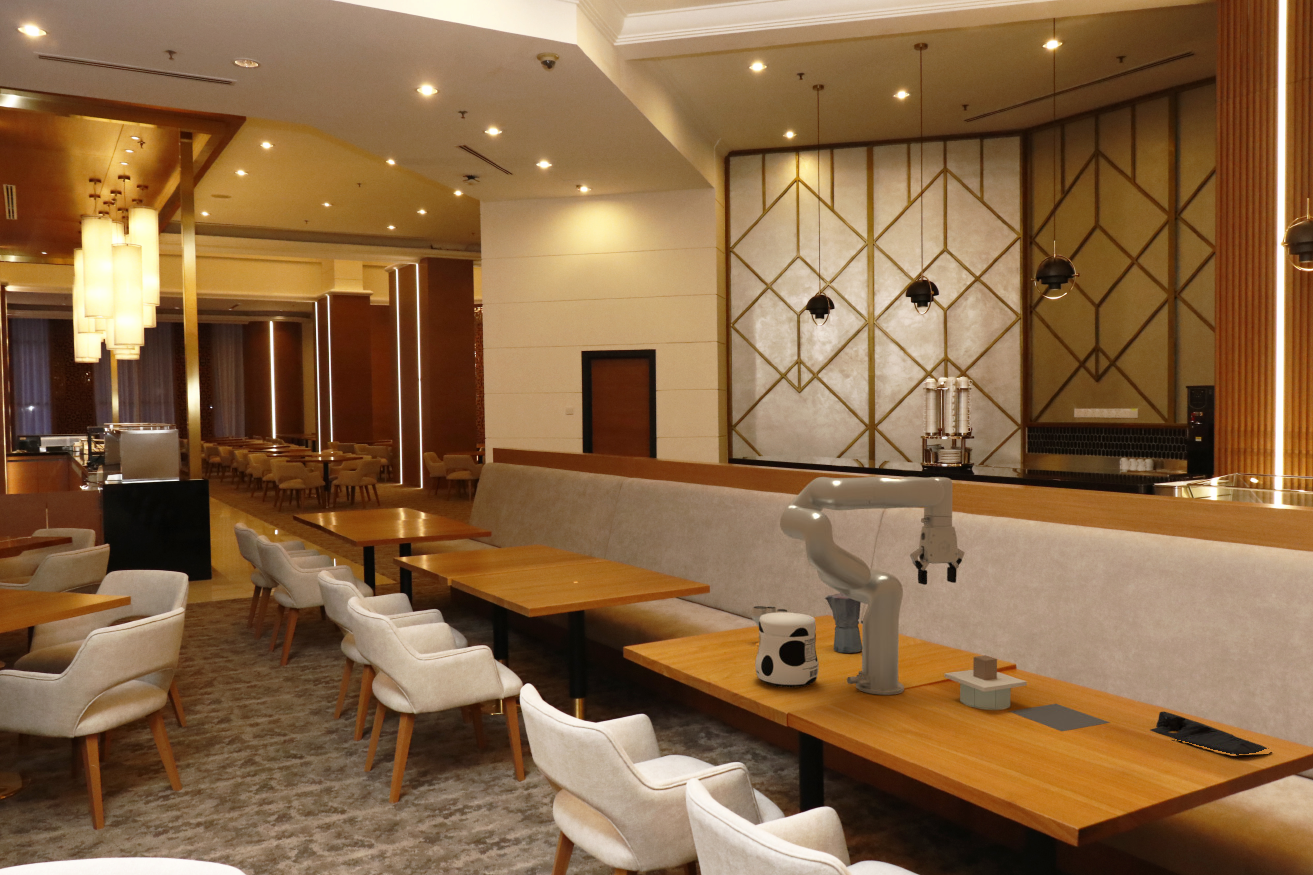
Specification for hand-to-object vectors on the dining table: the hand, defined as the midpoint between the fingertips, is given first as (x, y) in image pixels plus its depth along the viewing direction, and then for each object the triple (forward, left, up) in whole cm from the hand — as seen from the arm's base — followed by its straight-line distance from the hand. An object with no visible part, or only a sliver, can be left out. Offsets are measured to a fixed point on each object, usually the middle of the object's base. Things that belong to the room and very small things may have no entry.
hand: (937, 582), depth 256 cm
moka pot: (-1, +38, -28) cm, 47 cm away
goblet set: (-22, +45, -28) cm, 58 cm away
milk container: (-39, +15, -28) cm, 50 cm away
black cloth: (+23, -63, -28) cm, 73 cm away
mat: (+5, -38, -28) cm, 47 cm away
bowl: (-3, -22, -28) cm, 35 cm away
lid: (-3, -22, -22) cm, 31 cm away
